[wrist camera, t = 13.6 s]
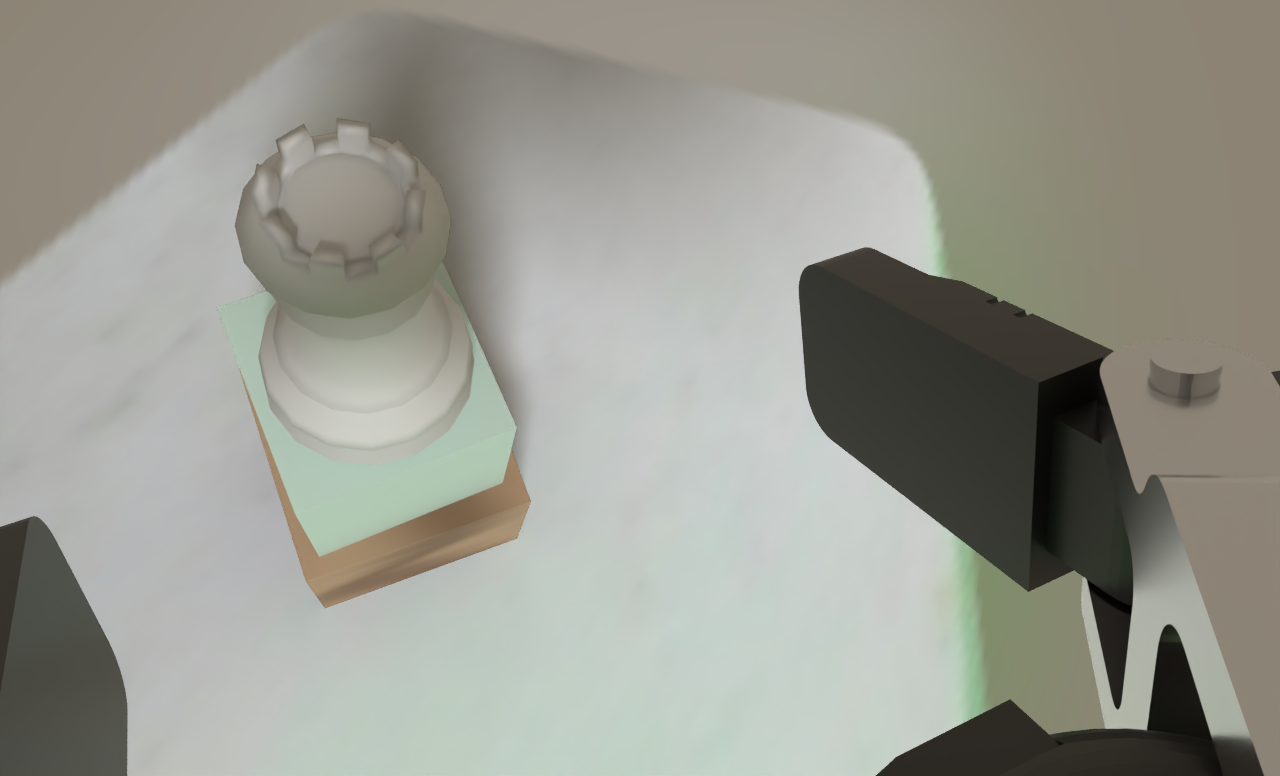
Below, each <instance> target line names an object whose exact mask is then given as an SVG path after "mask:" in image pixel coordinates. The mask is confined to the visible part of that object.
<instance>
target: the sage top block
mask: <svg viewBox="0 0 1280 776" xmlns="http://www.w3.org/2000/svg"><path fill="white" fill-rule="evenodd" d="M434 278H435V279H436V280H437V281H438V282H439V284H440V285H441V286H442V287H443V288H444V289H445V291H446V292H447V293H448V294H449V295H450V297H451V298H452V299H453V300H454V301H455V303H456V304H457V305H458V306H459V307H460V309H461V310H462V313H463V316H464V319H465V323H466V326H467V329H468V332H469V336H470V339H471V342H472V353H473V357H474V367H473V375H472V383H471V391H470V397H469V399H468V401H467V402H466V404H465V406H464V407H463V409H462V411H461V412H460V414H459V416H458V417H457V419H456V421H455V422H454V424H453V425H452V427H451V429H450V430H449V431H448V432H447V433H445V434H444V435H443V436H441V437H440V438H439V439H437V440H436V441H434V442H433V443H432V444H430V445H429V446H428V447H426V448H425V449H424V450H422V451H421V452H419V453H418V454H417V455H414V456H410V457H406V458H402V459H399V460H395V461H391V462H387V463H383V464H380V465H376V466H373V465H364V464H355V463H346V462H337V461H332V460H330V459H328V458H326V457H324V456H322V455H320V454H318V453H317V452H315V451H313V450H311V449H309V448H307V447H305V446H303V445H302V444H300V443H298V442H296V441H295V440H294V439H293V437H292V436H291V435H290V434H289V432H288V431H287V430H286V429H285V427H284V426H283V425H282V424H281V422H280V421H279V420H278V419H277V417H276V416H275V415H274V414H273V412H272V411H271V410H270V406H269V402H268V398H267V393H266V389H265V385H264V381H263V377H262V373H261V367H260V363H259V358H258V355H259V351H260V346H261V341H262V336H263V331H264V326H265V322H266V318H267V315H268V313H269V312H270V310H271V309H272V307H273V306H274V305H275V303H276V302H277V301H276V300H275V299H274V297H273V296H272V294H270V293H269V292H268V291H266V292H263V293H260V294H257V295H253V296H250V297H247V298H244V299H241V300H238V301H235V302H232V303H229V304H225V305H222V306H219V307H216V308H217V311H218V314H219V316H220V319H221V321H222V324H223V327H224V329H225V332H226V335H227V337H228V340H229V342H230V345H231V348H232V350H233V353H234V356H235V358H236V361H237V363H238V366H239V369H240V371H241V374H242V376H243V379H244V382H245V384H246V387H247V390H248V392H249V395H250V397H251V400H252V403H253V405H254V408H255V411H256V413H257V416H258V418H259V421H260V424H261V426H262V429H263V431H264V434H265V437H266V439H267V442H268V445H269V447H270V450H271V452H272V455H273V458H274V460H275V463H276V466H277V468H278V471H279V473H280V476H281V479H282V481H283V484H284V486H285V489H286V492H287V494H288V497H289V500H290V502H291V505H292V507H293V510H294V513H295V515H296V517H297V518H298V520H299V522H300V524H301V525H302V527H303V529H304V531H305V533H306V534H307V536H308V538H309V540H310V541H311V543H312V545H313V547H314V549H315V550H316V552H317V554H318V556H319V557H321V556H323V555H326V554H328V553H331V552H333V551H336V550H338V549H340V548H343V547H345V546H348V545H350V544H353V543H355V542H358V541H360V540H363V539H365V538H368V537H370V536H373V535H375V534H377V533H380V532H382V531H385V530H387V529H390V528H392V527H395V526H397V525H400V524H402V523H405V522H407V521H410V520H412V519H415V518H417V517H419V516H422V515H424V514H427V513H429V512H432V511H434V510H437V509H439V508H442V507H444V506H447V505H449V504H452V503H454V502H456V501H459V500H461V499H464V498H466V497H469V496H471V495H474V494H476V493H479V492H481V491H484V490H486V489H489V488H491V487H494V486H496V485H498V484H501V483H503V480H504V476H505V472H506V468H507V464H508V460H509V456H510V452H511V449H512V445H513V441H514V437H515V433H516V429H517V427H516V424H515V422H514V420H513V418H512V415H511V413H510V411H509V409H508V407H507V404H506V402H505V400H504V398H503V395H502V393H501V391H500V389H499V386H498V384H497V382H496V380H495V377H494V375H493V373H492V371H491V368H490V366H489V364H488V362H487V359H486V357H485V355H484V353H483V350H482V348H481V346H480V344H479V341H478V339H477V337H476V335H475V332H474V330H473V328H472V326H471V324H470V321H469V319H468V317H467V315H466V312H465V310H464V308H463V306H462V303H461V301H460V299H459V297H458V294H457V292H456V290H455V288H454V285H453V283H452V281H451V279H450V276H449V274H448V272H447V270H446V267H445V265H444V263H443V261H442V262H441V264H440V265H439V267H438V268H437V270H436V271H435V277H434Z"/></svg>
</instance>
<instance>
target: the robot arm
mask: <svg viewBox="0 0 1280 776" xmlns="http://www.w3.org/2000/svg"><path fill="white" fill-rule="evenodd" d="M799 300H800V313H801V326H802V340H803V353H804V366H805V379H806V390H807V396H808V400H809V404H810V407H811V409H812V412H813V414H814V417H815V419H816V421H817V422H818V424H819V426H820V427H821V429H822V430H823V431H824V433H825V434H826V435H827V436H828V437H829V438H830V439H831V440H832V441H834V442H835V443H836V444H838V445H839V446H840V447H841V448H843V449H844V450H845V451H847V452H848V453H849V454H850V455H852V456H853V457H854V458H856V459H857V460H858V461H860V462H861V463H862V464H863V465H865V466H866V467H867V468H869V469H870V470H871V471H873V472H874V473H875V474H876V475H878V476H879V477H880V478H882V479H883V480H884V481H885V482H887V483H888V484H889V485H891V486H892V487H893V488H895V489H896V490H897V491H898V492H900V493H901V494H902V495H904V496H905V497H906V498H908V499H909V500H910V501H911V502H913V503H914V504H915V505H917V506H918V507H919V508H920V509H922V510H923V511H924V512H926V513H927V514H928V515H930V516H931V517H932V518H933V519H935V520H936V521H937V522H939V523H940V524H941V525H943V526H944V527H945V528H946V529H948V530H949V531H950V532H952V533H953V534H954V535H955V536H957V537H958V538H959V539H961V540H962V541H963V542H965V543H966V544H967V545H968V546H970V547H971V548H972V549H974V550H975V551H976V552H978V553H979V554H980V555H981V556H983V557H984V558H985V559H987V560H988V561H989V562H990V563H992V564H993V565H994V566H996V567H997V568H998V569H1000V570H1001V571H1002V572H1003V573H1005V574H1006V575H1007V576H1009V577H1010V578H1011V579H1013V580H1014V581H1015V582H1016V583H1018V584H1019V585H1020V586H1022V587H1023V588H1024V589H1026V590H1027V591H1028V592H1029V591H1031V590H1033V589H1035V588H1037V587H1040V586H1042V585H1044V584H1046V583H1048V582H1050V581H1052V580H1054V579H1057V578H1059V577H1061V576H1063V575H1065V574H1067V573H1069V572H1071V571H1073V570H1075V571H1076V572H1077V573H1079V574H1080V575H1082V576H1083V582H1082V594H1081V609H1082V614H1083V619H1084V624H1085V629H1086V633H1087V638H1088V644H1089V649H1090V654H1091V659H1092V664H1093V669H1094V674H1095V679H1096V684H1097V689H1098V693H1099V699H1100V704H1101V709H1102V714H1103V719H1104V724H1105V729H1089V730H1081V731H1071V732H1062V733H1056V734H1051V735H1049V734H1048V733H1047V732H1045V731H1044V730H1043V729H1042V728H1041V727H1040V726H1039V725H1038V724H1037V723H1035V722H1034V721H1033V720H1032V719H1031V718H1030V717H1029V716H1028V715H1027V714H1026V713H1024V712H1023V711H1022V710H1021V709H1020V708H1019V707H1018V706H1017V705H1016V704H1015V703H1014V702H1012V701H1011V700H1008V701H1006V702H1004V703H1002V704H1000V705H998V706H996V707H994V708H992V709H990V710H988V711H986V712H984V713H982V714H980V715H978V716H976V717H974V718H973V719H971V720H969V721H967V722H965V723H963V724H961V725H959V726H957V727H955V728H953V729H951V730H949V731H947V732H945V733H943V734H941V735H939V736H937V737H935V738H933V739H931V740H929V741H927V742H925V743H923V744H921V745H919V746H917V747H915V748H913V749H911V750H909V751H907V752H905V753H903V754H901V755H899V756H897V757H896V758H895V759H894V760H893V761H892V762H890V763H889V764H888V765H887V766H886V767H885V768H884V769H883V770H882V771H881V772H879V773H878V774H877V775H876V776H1280V371H1276V372H1270V371H1269V369H1268V368H1267V367H1266V366H1265V365H1264V364H1262V363H1261V362H1260V361H1259V360H1257V359H1255V358H1254V357H1252V356H1250V355H1248V354H1246V353H1243V352H1241V351H1239V350H1236V349H1233V348H1230V347H1227V346H1223V345H1218V344H1215V343H1210V342H1203V341H1197V340H1185V339H1162V340H1151V341H1144V342H1139V343H1135V344H1130V345H1128V346H1125V347H1122V348H1120V349H1118V350H1116V351H1112V350H1111V349H1108V348H1106V347H1104V346H1102V345H1100V344H1097V343H1095V342H1093V341H1091V340H1089V339H1087V338H1084V337H1082V336H1080V335H1078V334H1076V333H1074V332H1071V331H1069V330H1067V329H1065V328H1063V327H1060V326H1058V325H1056V324H1054V323H1052V322H1050V321H1047V320H1045V319H1043V318H1041V317H1039V316H1036V315H1034V314H1030V315H1026V313H1025V310H1023V309H1021V308H1019V307H1017V306H1015V305H1013V304H1010V303H1008V302H1006V301H1001V302H998V300H997V297H995V296H993V295H991V294H989V293H986V292H984V291H982V290H980V289H978V288H976V287H973V286H971V285H969V284H967V283H965V282H962V281H957V280H952V279H947V278H942V277H937V276H931V275H928V274H926V273H923V272H921V271H919V270H917V269H915V268H913V267H911V266H909V265H907V264H904V263H902V262H900V261H898V260H896V259H894V258H892V257H890V256H887V255H885V254H883V253H881V252H879V251H877V250H875V249H872V248H866V247H865V248H861V249H858V250H855V251H852V252H849V253H846V254H843V255H840V256H837V257H834V258H830V259H827V260H824V261H821V262H818V263H815V264H812V265H809V266H807V267H806V268H805V269H804V270H803V272H802V274H801V277H800V281H799ZM0 776H127V699H126V693H125V688H124V683H123V679H122V676H121V672H120V669H119V666H118V663H117V660H116V657H115V655H114V652H113V650H112V648H111V646H110V644H109V641H108V639H107V638H106V636H105V634H104V632H103V630H102V628H101V626H100V624H99V622H98V620H97V618H96V616H95V615H94V613H93V611H92V609H91V607H90V605H89V603H88V601H87V599H86V597H85V595H84V593H83V592H82V590H81V588H80V586H79V584H78V582H77V580H76V578H75V576H74V574H73V572H72V570H71V569H70V567H69V565H68V563H67V561H66V559H65V557H64V555H63V553H62V551H61V549H60V547H59V546H58V544H57V542H56V540H55V538H54V536H53V535H52V533H51V531H50V530H49V528H48V527H47V526H46V524H45V523H44V522H43V521H42V520H41V519H40V518H38V517H35V516H33V517H30V518H27V519H23V520H20V521H17V522H14V523H11V524H8V525H5V526H2V527H0Z"/></svg>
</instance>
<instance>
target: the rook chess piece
mask: <svg viewBox="0 0 1280 776" xmlns="http://www.w3.org/2000/svg"><path fill="white" fill-rule="evenodd" d="M337 132H338V133H332V134H326V135H321V136H315V137H311V136H310V134H309V132H308V131H307V129H306V127H305V125H304V124H303V125H301V126H299V127H298V128H296V129H294V130H292V131H291V132H289V133H287V134H285V135H284V136H282V137H280V138H278V139H277V140H276V142H277V146H278V150H279V152H278V153H276V154H274V155H272V156H271V157H269V158H267V159H266V160H265V161H264V163H263V164H262V165H258V164H257V166H256V171H255V174H254V176H253V177H252V178H251V180H250V181H249V182H248V183H247V185H246V186H245V187H244V189H243V192H242V196H241V201H240V205H239V209H238V214H237V218H236V223H235V228H236V232H237V236H238V240H239V244H240V248H241V252H242V257H243V261H244V263H245V264H246V265H247V267H248V268H249V269H250V270H251V272H252V273H253V274H254V275H255V276H256V278H257V279H258V280H259V281H260V283H261V284H262V285H263V286H264V288H265V289H266V290H267V291H268V292H269V293H270V294H272V296H273V297H274V299H275V300H276V301H277V302H276V303H275V305H274V306H273V307H272V309H271V310H270V312H269V313H268V315H267V318H266V322H265V326H264V331H263V336H262V341H261V346H260V351H259V355H258V358H259V363H260V367H261V373H262V377H263V381H264V385H265V389H266V393H267V398H268V402H269V406H270V410H271V411H272V412H273V414H274V415H275V416H276V417H277V419H278V420H279V421H280V422H281V424H282V425H283V426H284V427H285V429H286V430H287V431H288V432H289V434H290V435H291V436H292V437H293V439H294V440H295V441H296V442H298V443H300V444H302V445H303V446H305V447H307V448H309V449H311V450H313V451H315V452H317V453H318V454H320V455H322V456H324V457H326V458H328V459H330V460H332V461H337V462H346V463H355V464H364V465H373V466H376V465H380V464H383V463H387V462H391V461H395V460H399V459H402V458H406V457H410V456H414V455H417V454H418V453H419V452H421V451H422V450H424V449H425V448H426V447H428V446H429V445H430V444H432V443H433V442H434V441H436V440H437V439H439V438H440V437H441V436H443V435H444V434H445V433H447V432H448V431H449V430H450V429H451V427H452V425H453V424H454V422H455V421H456V419H457V417H458V416H459V414H460V412H461V411H462V409H463V407H464V406H465V404H466V402H467V401H468V399H469V397H470V391H471V383H472V375H473V367H474V357H473V353H472V342H471V339H470V336H469V332H468V329H467V326H466V323H465V319H464V316H463V313H462V310H461V309H460V307H459V306H458V305H457V304H456V303H455V301H454V300H453V299H452V298H451V297H450V295H449V294H448V293H447V292H446V291H445V289H444V288H443V287H442V286H441V285H440V284H439V282H438V281H437V280H436V279H435V278H434V277H435V271H436V270H437V268H438V267H439V265H440V264H441V262H442V261H443V259H444V258H445V256H446V252H447V245H448V238H449V232H450V225H451V217H450V214H449V211H448V208H447V204H446V201H445V198H444V194H443V191H442V188H441V185H440V184H439V183H438V182H437V180H436V179H435V178H434V177H433V176H432V175H431V173H430V172H429V171H428V170H427V169H426V168H425V166H424V165H423V164H422V163H421V162H420V161H419V159H418V158H417V157H416V156H414V155H412V154H411V153H410V152H409V151H408V149H407V148H406V147H405V146H404V145H403V144H402V142H401V141H400V140H399V139H397V140H396V141H395V142H394V143H393V144H391V143H390V142H388V141H386V140H384V139H382V138H377V137H371V129H370V123H364V122H358V121H351V120H345V119H339V118H337Z"/></svg>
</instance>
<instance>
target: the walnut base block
mask: <svg viewBox="0 0 1280 776" xmlns="http://www.w3.org/2000/svg"><path fill="white" fill-rule="evenodd" d="M239 370H240V369H239ZM240 373H241V371H240ZM241 376H242V374H241ZM242 379H243V376H242ZM243 383H244V386H245V389H246V392H247V395H248V399H249V402H250V405H251V408H252V411H253V414H254V418H255V421H256V424H257V427H258V430H259V434H260V437H261V440H262V443H263V446H264V449H265V453H266V456H267V459H268V462H269V465H270V469H271V472H272V475H273V478H274V481H275V484H276V488H277V491H278V494H279V497H280V500H281V504H282V507H283V510H284V513H285V516H286V519H287V523H288V526H289V529H290V532H291V535H292V539H293V542H294V545H295V548H296V551H297V554H298V558H299V561H300V564H301V567H302V570H303V574H304V577H305V580H306V582H307V583H308V585H309V586H310V588H311V589H312V590H313V592H314V593H315V595H316V596H317V598H318V599H319V600H320V602H321V603H322V605H323V606H324V607H325V608H327V607H330V606H333V605H335V604H338V603H341V602H344V601H346V600H349V599H352V598H355V597H357V596H360V595H363V594H366V593H368V592H371V591H374V590H376V589H379V588H382V587H385V586H387V585H390V584H393V583H396V582H398V581H401V580H404V579H407V578H409V577H412V576H415V575H418V574H420V573H423V572H426V571H429V570H431V569H434V568H437V567H440V566H442V565H445V564H448V563H451V562H453V561H456V560H459V559H462V558H464V557H467V556H470V555H473V554H475V553H478V552H481V551H484V550H486V549H489V548H492V547H495V546H497V545H500V544H503V543H506V542H508V541H511V540H514V539H517V537H518V534H519V532H520V529H521V526H522V524H523V521H524V518H525V516H526V513H527V510H528V508H529V505H530V502H531V500H530V498H529V495H528V492H527V490H526V487H525V484H524V482H523V479H522V477H521V474H520V471H519V469H518V466H517V463H516V461H515V458H514V456H513V453H512V450H511V452H510V456H509V460H508V464H507V468H506V472H505V476H504V480H503V483H501V484H498V485H496V486H494V487H491V488H489V489H486V490H484V491H481V492H479V493H476V494H474V495H471V496H469V497H466V498H464V499H461V500H459V501H456V502H454V503H452V504H449V505H447V506H444V507H442V508H439V509H437V510H434V511H432V512H429V513H427V514H424V515H422V516H419V517H417V518H415V519H412V520H410V521H407V522H405V523H402V524H400V525H397V526H395V527H392V528H390V529H387V530H385V531H382V532H380V533H377V534H375V535H373V536H370V537H368V538H365V539H363V540H360V541H358V542H355V543H353V544H350V545H348V546H345V547H343V548H340V549H338V550H336V551H333V552H331V553H328V554H326V555H323V556H321V557H319V556H318V554H317V552H316V550H315V549H314V547H313V545H312V543H311V541H310V540H309V538H308V536H307V534H306V533H305V531H304V529H303V527H302V525H301V524H300V522H299V520H298V518H297V517H296V515H295V513H294V510H293V507H292V505H291V502H290V500H289V497H288V494H287V492H286V489H285V486H284V484H283V481H282V479H281V476H280V473H279V471H278V468H277V466H276V463H275V460H274V458H273V455H272V452H271V450H270V447H269V445H268V442H267V439H266V437H265V434H264V431H263V429H262V426H261V424H260V421H259V418H258V416H257V413H256V411H255V408H254V405H253V403H252V400H251V397H250V395H249V392H248V390H247V387H246V384H245V382H244V379H243Z"/></svg>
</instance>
